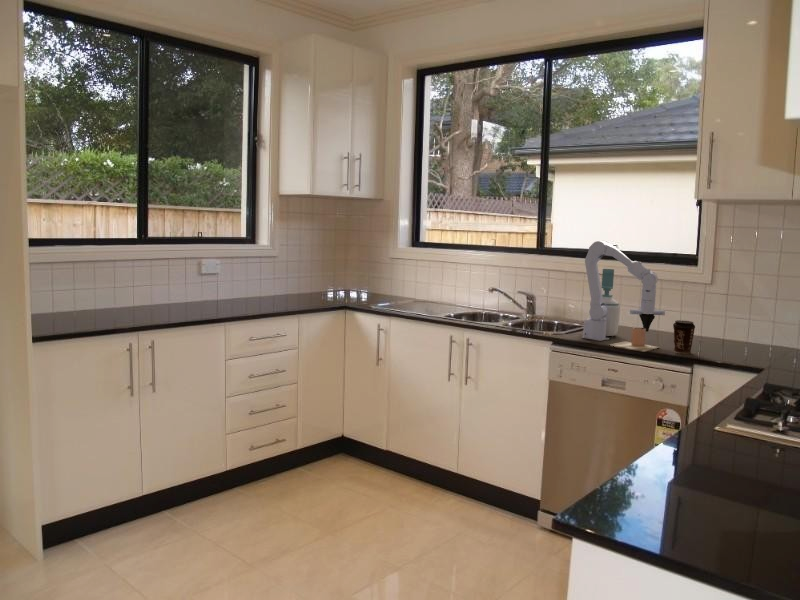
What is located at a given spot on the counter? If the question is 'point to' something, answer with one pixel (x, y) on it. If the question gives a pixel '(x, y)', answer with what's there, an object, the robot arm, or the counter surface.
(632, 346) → the board
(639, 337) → the block
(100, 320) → the counter surface
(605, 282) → the soap bottle
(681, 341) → the coffee cup
